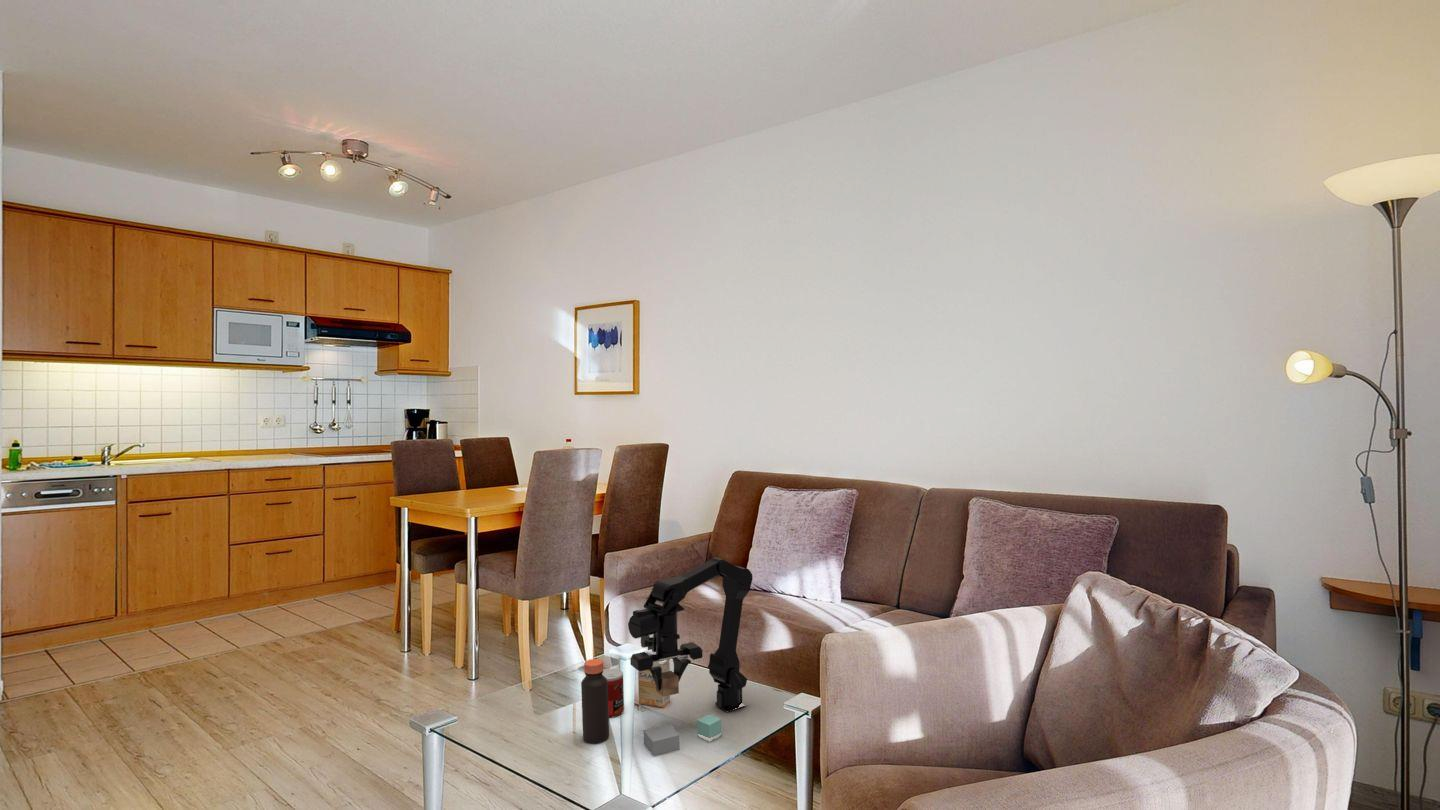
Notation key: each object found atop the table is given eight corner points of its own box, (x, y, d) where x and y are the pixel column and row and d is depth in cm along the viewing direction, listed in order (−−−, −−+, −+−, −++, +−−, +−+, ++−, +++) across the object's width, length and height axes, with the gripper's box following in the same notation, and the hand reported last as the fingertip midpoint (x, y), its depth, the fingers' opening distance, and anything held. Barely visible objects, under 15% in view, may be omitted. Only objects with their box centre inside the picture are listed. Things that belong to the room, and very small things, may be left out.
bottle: (587, 746, 190) (585, 669, 189) (579, 735, 196) (577, 660, 195) (612, 740, 193) (610, 664, 192) (604, 729, 199) (602, 655, 198)
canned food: (618, 719, 205) (617, 679, 204) (591, 717, 206) (590, 678, 206) (627, 707, 212) (626, 669, 212) (601, 705, 214) (600, 667, 213)
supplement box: (637, 704, 214) (636, 659, 213) (645, 697, 218) (644, 653, 218) (663, 708, 211) (662, 663, 210) (671, 701, 215) (669, 657, 215)
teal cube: (709, 730, 197) (709, 714, 197) (721, 736, 194) (721, 719, 194) (697, 737, 194) (696, 720, 194) (709, 742, 191) (709, 725, 190)
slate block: (669, 738, 193) (668, 723, 193) (679, 750, 187) (679, 735, 187) (643, 745, 190) (643, 730, 190) (653, 757, 184) (653, 741, 184)
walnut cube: (671, 687, 200) (670, 670, 200) (678, 693, 196) (678, 676, 196) (655, 690, 198) (655, 674, 198) (663, 696, 194) (663, 679, 194)
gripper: (684, 615, 208) (684, 671, 208) (621, 627, 199) (622, 685, 199) (703, 626, 198) (703, 684, 199) (638, 639, 189) (639, 700, 189)
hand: (667, 688), depth 197 cm, fingers closed on walnut cube, 4 cm apart
